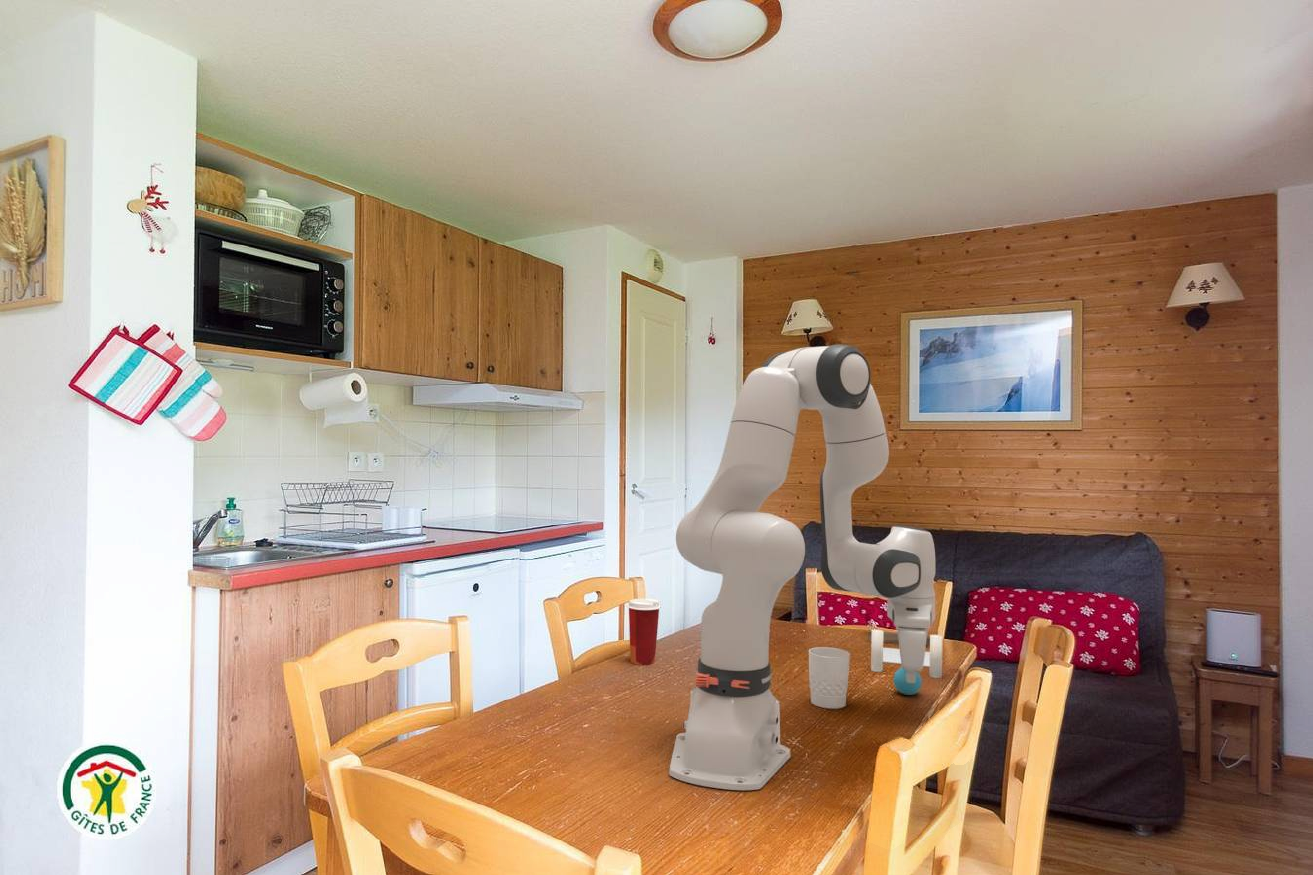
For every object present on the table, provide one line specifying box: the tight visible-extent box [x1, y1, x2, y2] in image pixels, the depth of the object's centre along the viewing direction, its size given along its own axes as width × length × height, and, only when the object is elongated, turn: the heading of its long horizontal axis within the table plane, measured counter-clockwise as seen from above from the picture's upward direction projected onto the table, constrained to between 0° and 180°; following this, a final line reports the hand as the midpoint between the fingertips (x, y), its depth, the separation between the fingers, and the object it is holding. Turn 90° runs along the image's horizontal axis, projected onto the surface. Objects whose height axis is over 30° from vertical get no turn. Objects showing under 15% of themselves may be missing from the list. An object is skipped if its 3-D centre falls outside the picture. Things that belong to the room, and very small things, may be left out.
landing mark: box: [883, 647, 930, 668], centre depth 184 cm, size 14×14×1 cm
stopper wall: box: [867, 629, 930, 646], centre depth 198 cm, size 2×18×2 cm, turn 73°
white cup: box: [808, 646, 851, 710], centre depth 148 cm, size 8×8×10 cm
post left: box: [870, 628, 885, 673], centre depth 172 cm, size 3×3×9 cm
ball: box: [893, 667, 923, 696], centre depth 155 cm, size 6×6×6 cm
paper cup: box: [626, 597, 662, 666], centre depth 174 cm, size 8×8×14 cm
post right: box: [928, 634, 943, 679], centre depth 168 cm, size 3×3×9 cm
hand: (910, 680), depth 146 cm, fingers closed
